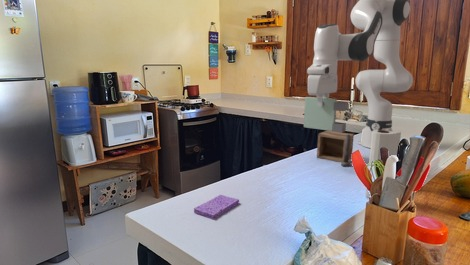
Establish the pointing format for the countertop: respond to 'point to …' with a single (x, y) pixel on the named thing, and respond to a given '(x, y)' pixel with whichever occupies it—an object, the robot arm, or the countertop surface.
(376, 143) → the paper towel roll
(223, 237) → the countertop surface
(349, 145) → the walnut cabinet
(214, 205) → the sponges
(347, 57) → the robot arm
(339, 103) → the cabinet door
